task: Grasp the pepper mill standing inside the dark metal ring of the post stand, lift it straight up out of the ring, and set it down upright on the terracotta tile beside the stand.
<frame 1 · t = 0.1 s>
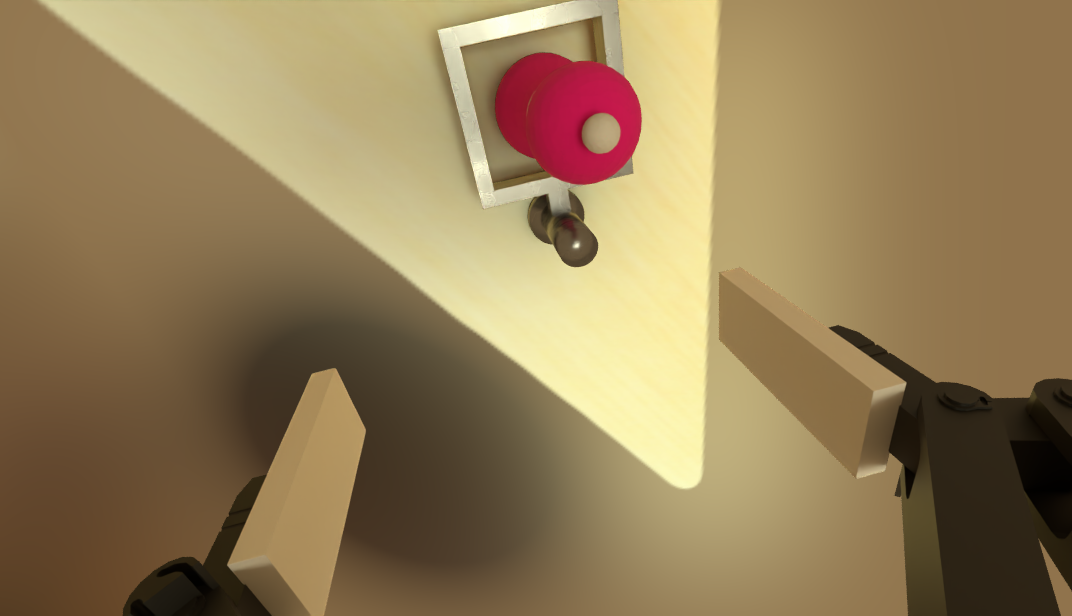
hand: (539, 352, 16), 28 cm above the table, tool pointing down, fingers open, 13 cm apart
pepper mill: (534, 103, 39), on the table
ring stand: (534, 104, 38), on the table
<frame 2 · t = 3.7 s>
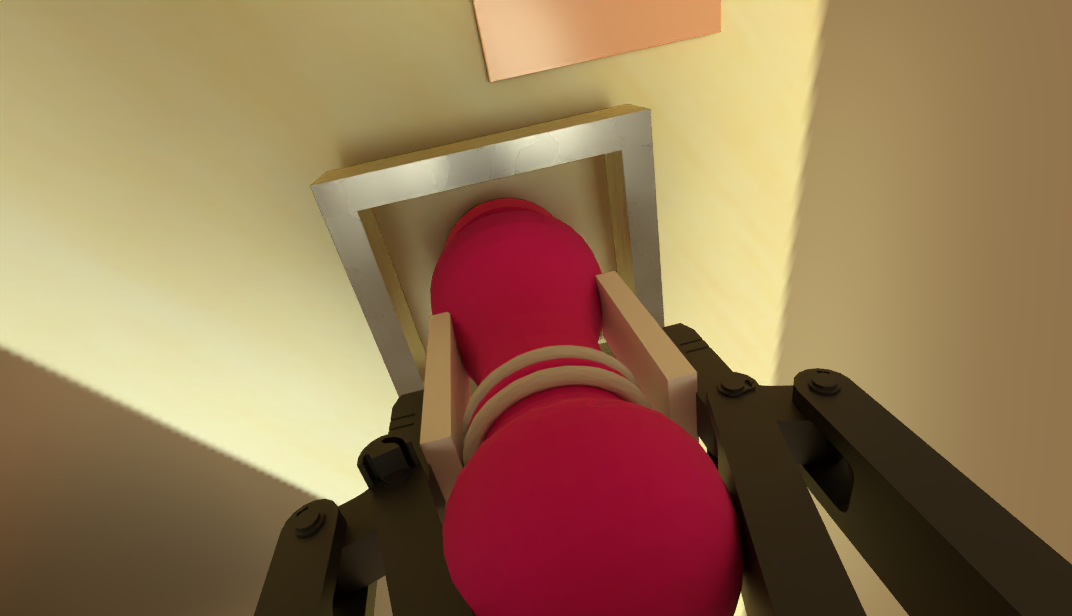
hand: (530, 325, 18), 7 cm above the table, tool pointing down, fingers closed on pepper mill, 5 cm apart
pepper mill: (506, 257, 24), on the table, touching gripper
ring stand: (507, 259, 24), on the table
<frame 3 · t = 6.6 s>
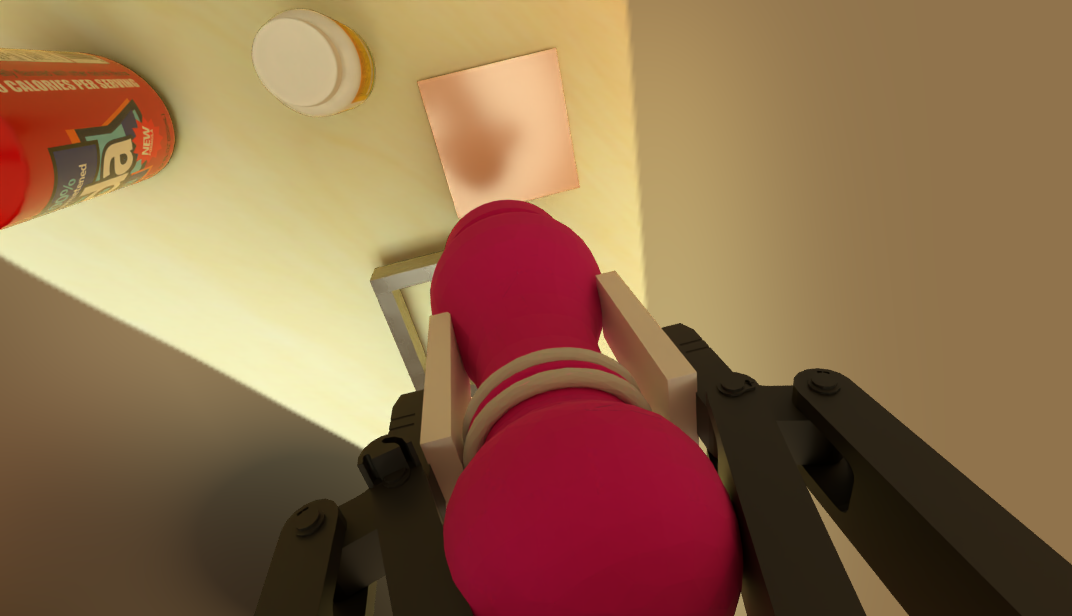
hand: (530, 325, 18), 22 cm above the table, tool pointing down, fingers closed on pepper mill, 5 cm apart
soda can: (117, 119, 32), on the table
pepper mill: (506, 258, 24), point 15 cm above the table, touching gripper
terracotta tile: (503, 137, 36), on the table
ring stand: (473, 305, 41), on the table
supplement bottle: (336, 66, 32), on the table
when the fingers open (9 cm above the table, at t = 9.5 s): pepper mill drops 1 cm, resting on terracotta tile.
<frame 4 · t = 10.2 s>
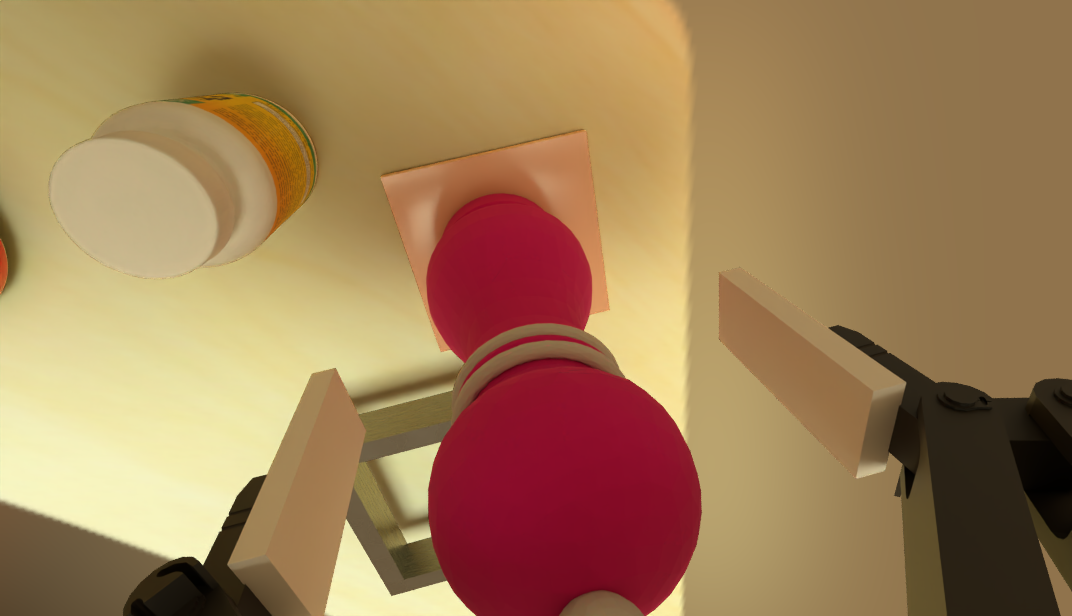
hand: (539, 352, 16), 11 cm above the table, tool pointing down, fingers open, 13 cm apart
pepper mill: (500, 250, 25), resting on terracotta tile
terracotta tile: (506, 247, 25), on the table
ring stand: (460, 449, 31), on the table
supplement bottle: (259, 155, 22), on the table
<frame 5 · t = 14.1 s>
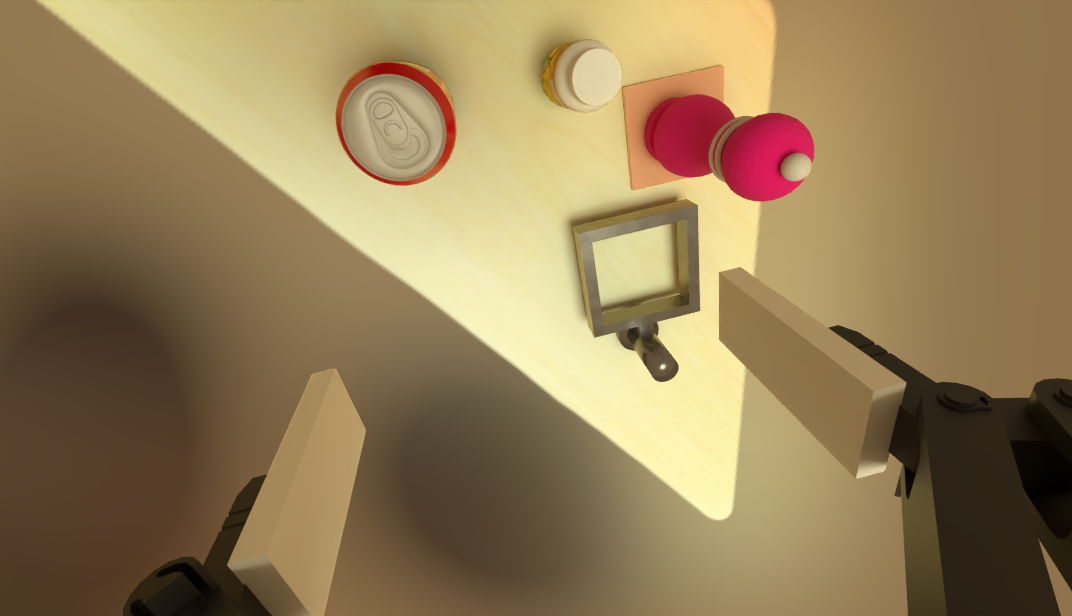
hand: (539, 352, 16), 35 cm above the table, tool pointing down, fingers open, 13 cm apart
soda can: (411, 110, 43), on the table
pepper mill: (672, 130, 48), resting on terracotta tile
terracotta tile: (673, 130, 48), on the table
ring stand: (629, 259, 54), on the table
supplement bottle: (568, 75, 44), on the table
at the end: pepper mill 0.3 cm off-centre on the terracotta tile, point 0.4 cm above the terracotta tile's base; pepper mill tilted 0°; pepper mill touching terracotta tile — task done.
